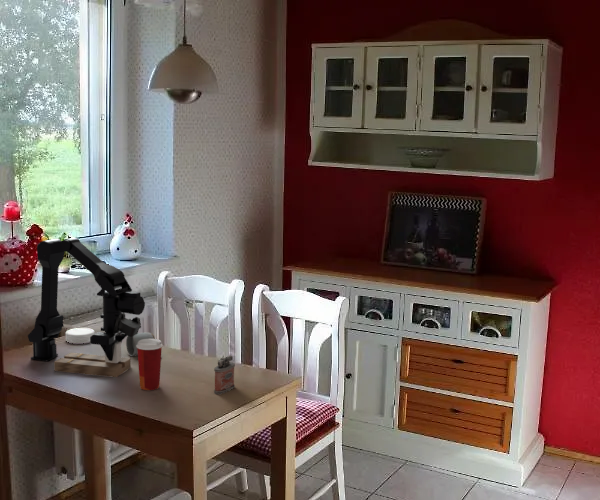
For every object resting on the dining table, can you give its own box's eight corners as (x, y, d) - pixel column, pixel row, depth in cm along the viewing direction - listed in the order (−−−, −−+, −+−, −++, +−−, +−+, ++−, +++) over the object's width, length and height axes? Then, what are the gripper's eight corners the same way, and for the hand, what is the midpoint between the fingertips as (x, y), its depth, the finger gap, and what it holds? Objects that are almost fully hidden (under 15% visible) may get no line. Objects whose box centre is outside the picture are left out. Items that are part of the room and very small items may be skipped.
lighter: (220, 395, 217) (220, 362, 215) (211, 392, 219) (211, 360, 217) (237, 387, 224) (237, 355, 222) (228, 385, 225) (228, 353, 224)
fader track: (54, 370, 234) (54, 361, 233) (70, 361, 243) (70, 351, 243) (116, 377, 229) (116, 367, 229) (130, 367, 239) (130, 357, 238)
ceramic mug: (157, 355, 253) (157, 332, 251) (134, 358, 248) (134, 336, 247) (143, 347, 261) (143, 326, 260) (121, 351, 256) (121, 329, 255)
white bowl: (60, 343, 263) (60, 333, 263) (73, 335, 273) (73, 326, 272) (87, 345, 262) (87, 335, 261) (99, 337, 271) (99, 328, 271)
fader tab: (105, 366, 234) (104, 343, 232) (109, 363, 236) (109, 340, 235) (117, 367, 233) (116, 344, 231) (121, 364, 236) (121, 342, 234)
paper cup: (167, 384, 224) (167, 339, 222) (154, 393, 217) (154, 346, 215) (144, 381, 227) (144, 336, 224) (131, 389, 219) (130, 343, 217)
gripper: (123, 320, 221) (123, 370, 224) (149, 305, 239) (149, 352, 242) (88, 317, 223) (89, 367, 226) (116, 303, 241) (117, 349, 244)
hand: (113, 359), depth 234 cm, fingers closed on fader tab, 3 cm apart
